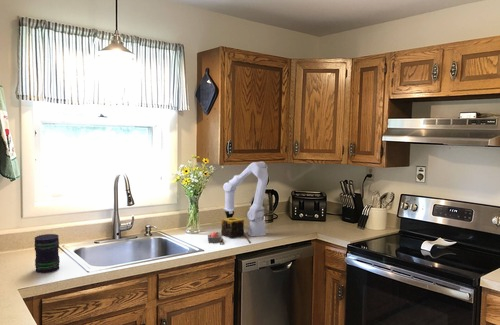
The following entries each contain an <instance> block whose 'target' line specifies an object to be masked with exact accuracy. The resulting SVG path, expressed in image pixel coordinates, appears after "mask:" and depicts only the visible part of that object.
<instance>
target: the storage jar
mask: <svg viewBox="0 0 500 325" xmlns="http://www.w3.org/2000/svg"><path fill="white" fill-rule="evenodd" d="M59 240H60V238H59V235H58V234H56V233H47V234H41V235H40V234H39V235H36V236H35V237H34V251H35V259H34V266H35V272H36V273H37V274H49V273H50V274H51V273H55V272H58V271H59V270H60V255H59V248H60V241H59Z"/></svg>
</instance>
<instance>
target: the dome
mask: <svg viewBox="0 0 500 325" xmlns="http://www.w3.org/2000/svg"><path fill="white" fill-rule="evenodd" d="M210 235H211V237H218V235H217V233H216V232H215V231H214V232H213V231H212V233H211V234H210Z"/></svg>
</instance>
